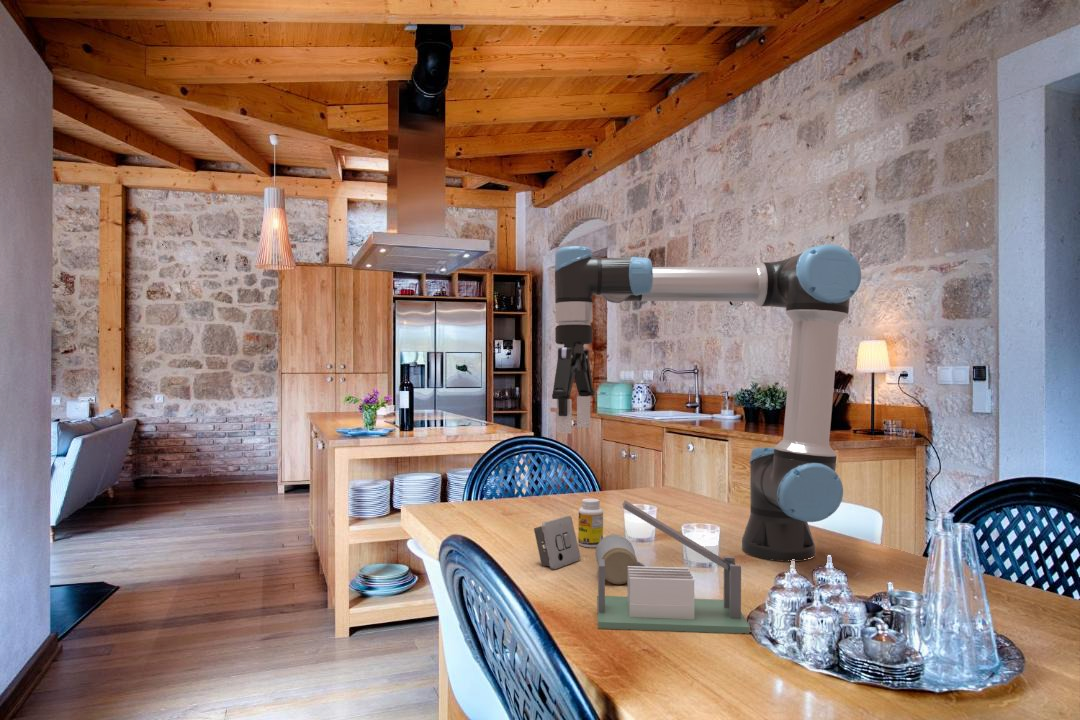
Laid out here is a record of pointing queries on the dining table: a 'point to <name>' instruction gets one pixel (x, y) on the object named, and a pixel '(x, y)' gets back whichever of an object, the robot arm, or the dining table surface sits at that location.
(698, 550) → the grey retaining bar
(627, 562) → the ceramic mug
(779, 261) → the robot arm
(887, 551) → the dining table surface
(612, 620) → the base
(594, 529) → the supplement bottle
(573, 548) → the electrical switch
